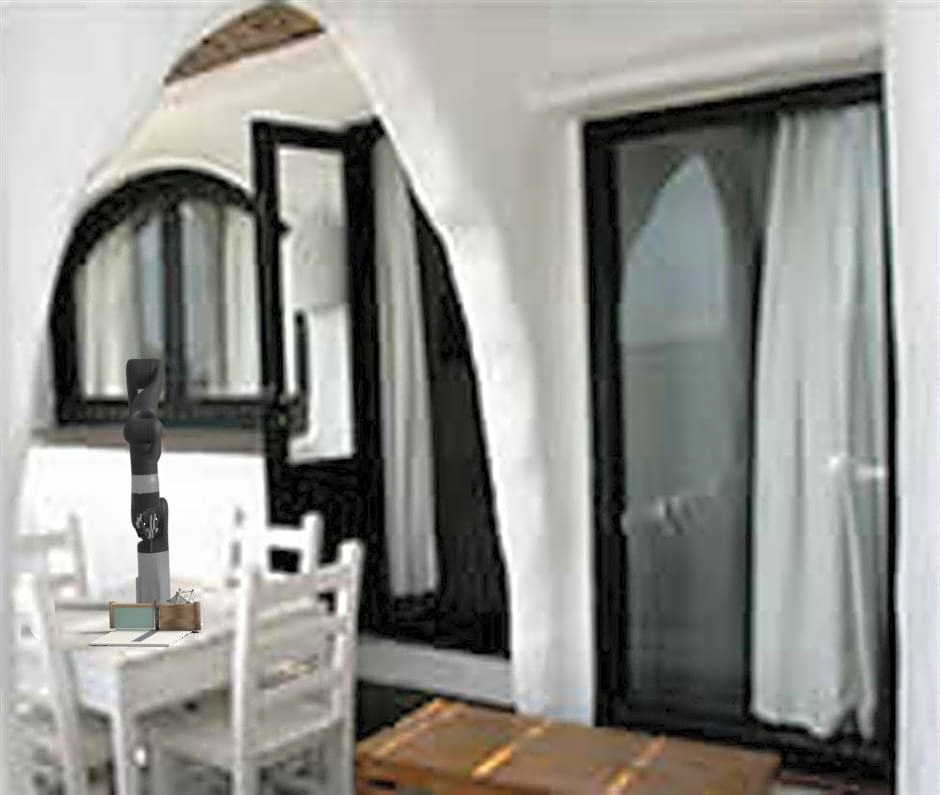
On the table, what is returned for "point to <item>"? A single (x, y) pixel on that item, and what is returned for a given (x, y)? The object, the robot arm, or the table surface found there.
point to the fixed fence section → (177, 616)
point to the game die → (183, 597)
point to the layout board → (141, 637)
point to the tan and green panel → (131, 616)
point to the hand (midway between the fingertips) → (147, 552)
